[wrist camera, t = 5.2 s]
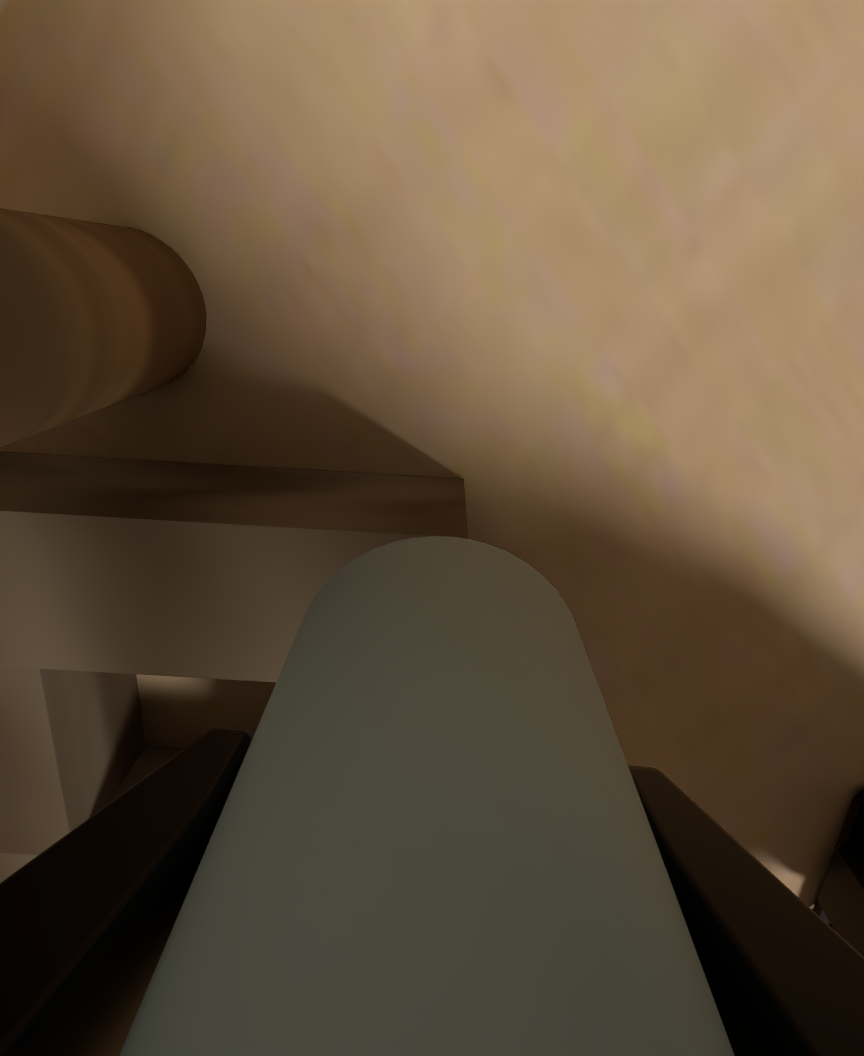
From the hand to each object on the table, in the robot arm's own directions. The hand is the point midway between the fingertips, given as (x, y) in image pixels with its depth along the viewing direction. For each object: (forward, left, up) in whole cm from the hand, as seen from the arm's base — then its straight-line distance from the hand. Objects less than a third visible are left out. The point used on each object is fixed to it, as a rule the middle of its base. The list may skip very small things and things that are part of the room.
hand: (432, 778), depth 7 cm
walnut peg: (+8, -4, -12) cm, 15 cm away
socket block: (+6, +7, -12) cm, 15 cm away
